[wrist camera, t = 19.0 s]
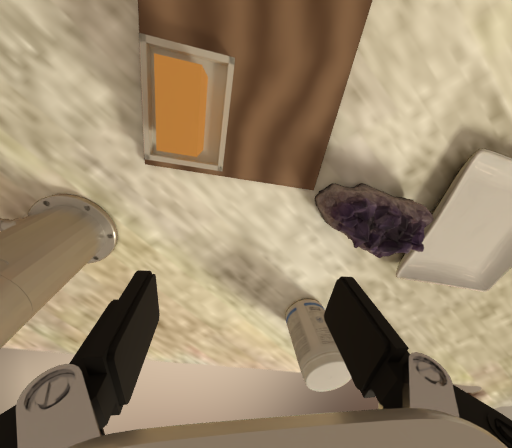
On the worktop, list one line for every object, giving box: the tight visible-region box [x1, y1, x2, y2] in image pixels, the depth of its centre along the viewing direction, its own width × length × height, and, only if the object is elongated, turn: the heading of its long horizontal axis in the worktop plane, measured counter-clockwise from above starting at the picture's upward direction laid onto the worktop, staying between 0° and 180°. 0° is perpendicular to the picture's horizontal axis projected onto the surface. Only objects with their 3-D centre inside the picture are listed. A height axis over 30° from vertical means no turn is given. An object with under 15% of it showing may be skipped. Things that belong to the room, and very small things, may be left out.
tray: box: [139, 33, 235, 171], centre depth 28 cm, size 11×14×2 cm
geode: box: [315, 184, 434, 258], centre depth 36 cm, size 20×12×10 cm, turn 71°
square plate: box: [396, 148, 512, 291], centre depth 43 cm, size 27×27×4 cm
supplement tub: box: [285, 299, 352, 392], centre depth 44 cm, size 10×10×15 cm
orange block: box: [154, 53, 208, 157], centre depth 25 cm, size 4×9×6 cm, turn 170°
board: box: [138, 0, 372, 190], centre depth 28 cm, size 27×27×1 cm
